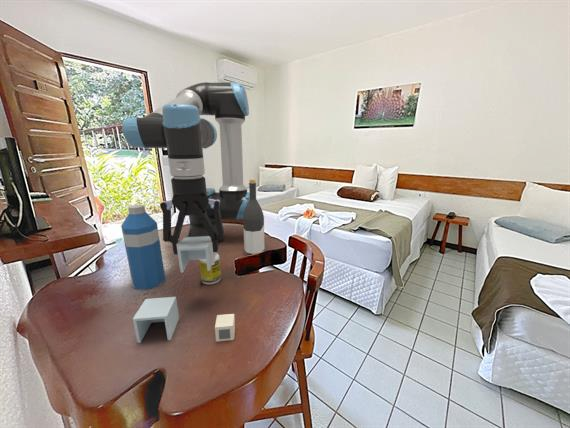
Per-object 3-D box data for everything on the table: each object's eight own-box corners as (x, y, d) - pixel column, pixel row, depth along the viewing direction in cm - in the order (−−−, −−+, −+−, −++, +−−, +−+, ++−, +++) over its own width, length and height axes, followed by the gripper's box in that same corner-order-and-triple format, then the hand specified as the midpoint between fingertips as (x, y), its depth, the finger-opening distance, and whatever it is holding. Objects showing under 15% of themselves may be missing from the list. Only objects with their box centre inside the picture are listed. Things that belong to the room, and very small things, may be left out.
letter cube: (218, 328, 59) (217, 315, 58) (235, 327, 59) (234, 313, 58) (215, 342, 55) (214, 327, 54) (234, 340, 55) (233, 326, 54)
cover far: (187, 259, 67) (184, 237, 65) (213, 257, 68) (211, 236, 66) (180, 272, 60) (177, 248, 58) (209, 270, 61) (207, 247, 59)
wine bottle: (245, 248, 102) (242, 177, 94) (265, 248, 102) (263, 177, 94) (243, 257, 94) (239, 180, 86) (264, 257, 95) (262, 180, 86)
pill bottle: (215, 286, 76) (213, 254, 72) (197, 284, 77) (194, 252, 74) (224, 276, 81) (222, 245, 78) (207, 274, 83) (204, 244, 79)
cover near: (149, 321, 61) (145, 298, 59) (179, 318, 62) (176, 296, 60) (137, 343, 54) (132, 318, 52) (170, 340, 55) (166, 316, 53)
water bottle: (171, 277, 80) (161, 204, 73) (145, 293, 72) (131, 212, 65) (152, 271, 84) (140, 201, 77) (125, 285, 76) (109, 208, 69)
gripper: (135, 179, 52) (152, 274, 59) (230, 178, 55) (236, 268, 62) (148, 174, 59) (162, 259, 66) (232, 173, 62) (237, 255, 69)
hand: (197, 263), depth 64 cm, fingers closed on cover far, 7 cm apart
